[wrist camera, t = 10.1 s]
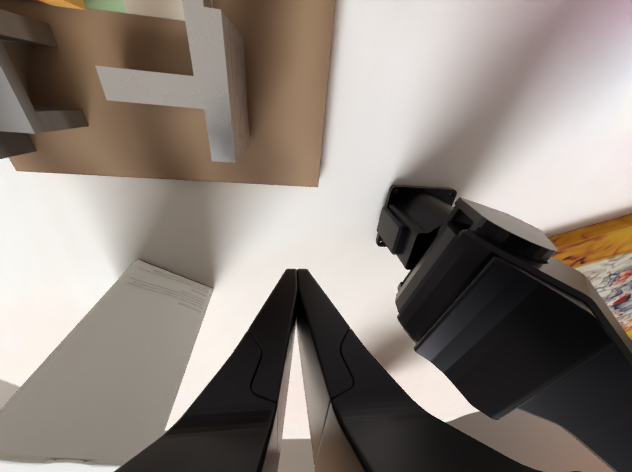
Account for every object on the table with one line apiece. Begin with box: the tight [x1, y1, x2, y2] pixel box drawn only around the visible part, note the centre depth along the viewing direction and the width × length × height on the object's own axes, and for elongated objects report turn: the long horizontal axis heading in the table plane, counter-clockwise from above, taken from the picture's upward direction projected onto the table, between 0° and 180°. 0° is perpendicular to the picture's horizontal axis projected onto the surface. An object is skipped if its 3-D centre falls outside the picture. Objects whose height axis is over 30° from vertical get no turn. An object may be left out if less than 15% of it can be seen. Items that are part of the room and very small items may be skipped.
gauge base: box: [0, 0, 335, 187], centre depth 13 cm, size 22×12×6 cm, turn 85°
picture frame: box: [548, 214, 632, 340], centre depth 32 cm, size 27×2×30 cm
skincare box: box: [0, 260, 213, 472], centre depth 19 cm, size 8×6×15 cm
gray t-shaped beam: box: [95, 0, 250, 163], centre depth 12 cm, size 8×8×5 cm
